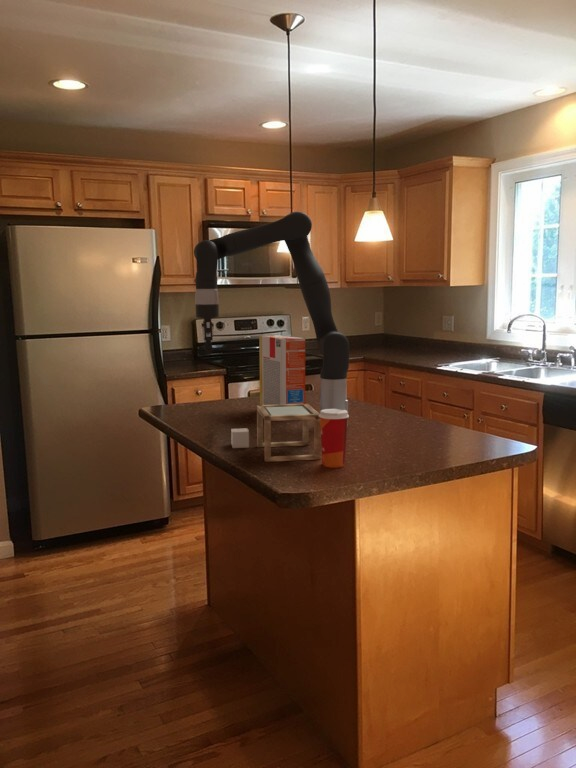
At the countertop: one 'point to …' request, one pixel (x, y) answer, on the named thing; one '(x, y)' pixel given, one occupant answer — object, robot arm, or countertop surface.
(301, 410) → the trapdoor
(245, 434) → the white cube
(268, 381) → the cereal box
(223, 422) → the countertop surface
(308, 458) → the frame
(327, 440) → the coffee cup
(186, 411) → the countertop surface
